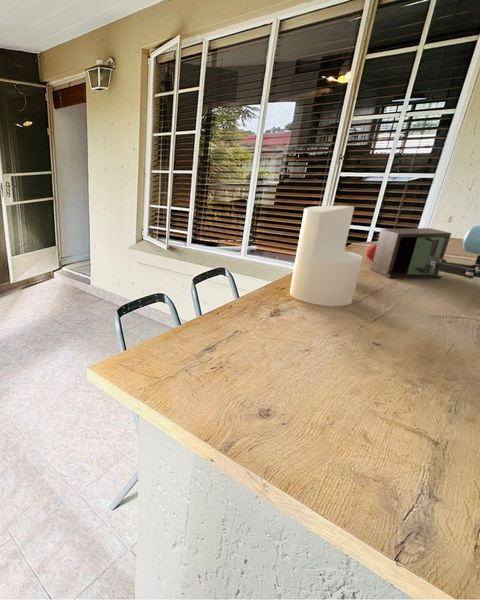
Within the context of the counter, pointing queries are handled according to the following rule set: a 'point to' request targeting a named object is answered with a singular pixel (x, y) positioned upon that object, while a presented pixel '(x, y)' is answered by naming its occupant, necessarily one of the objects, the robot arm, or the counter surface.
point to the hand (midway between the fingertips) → (452, 259)
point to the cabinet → (402, 251)
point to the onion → (371, 252)
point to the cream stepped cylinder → (325, 258)
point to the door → (425, 255)
